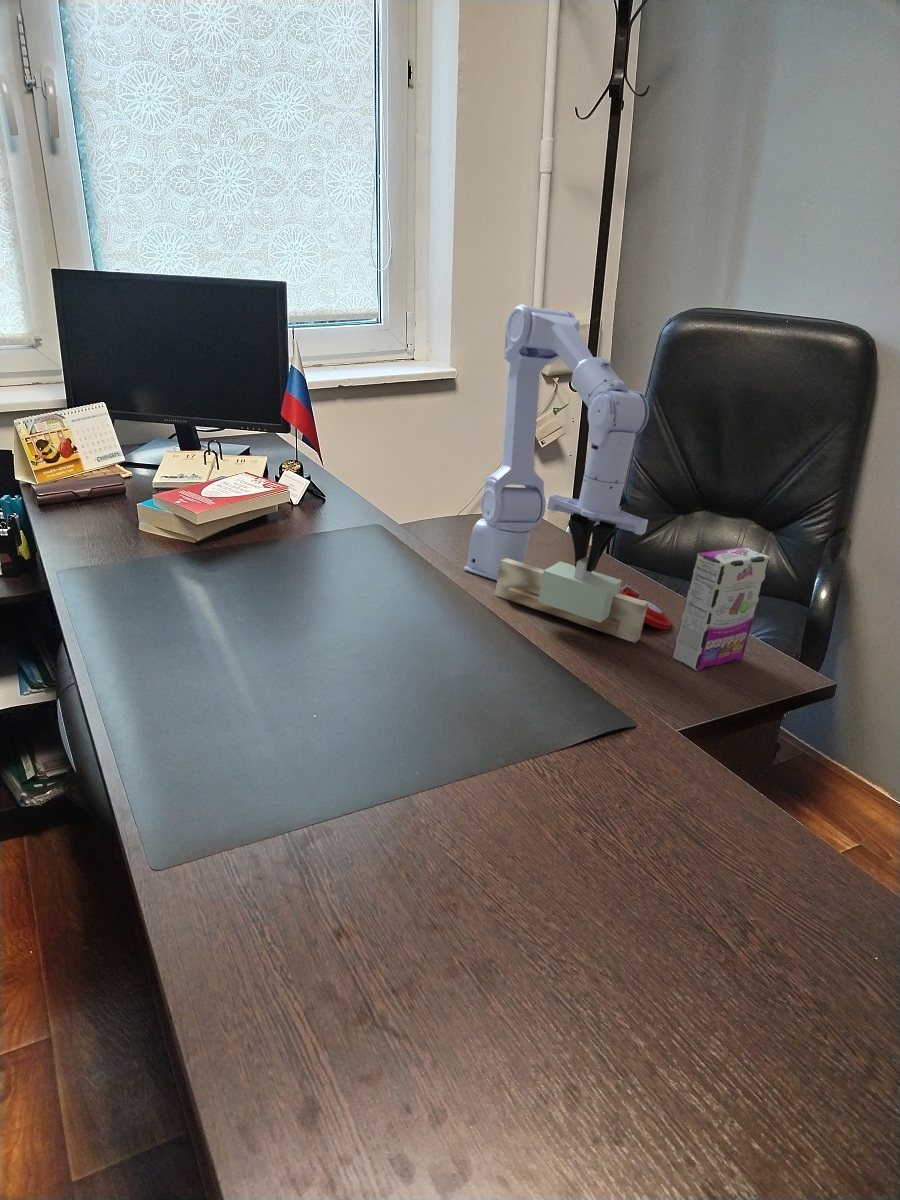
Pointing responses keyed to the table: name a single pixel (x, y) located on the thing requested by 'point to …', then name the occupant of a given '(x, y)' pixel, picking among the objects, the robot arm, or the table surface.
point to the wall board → (525, 588)
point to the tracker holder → (649, 610)
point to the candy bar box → (720, 607)
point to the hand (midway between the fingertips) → (584, 568)
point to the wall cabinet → (578, 590)
